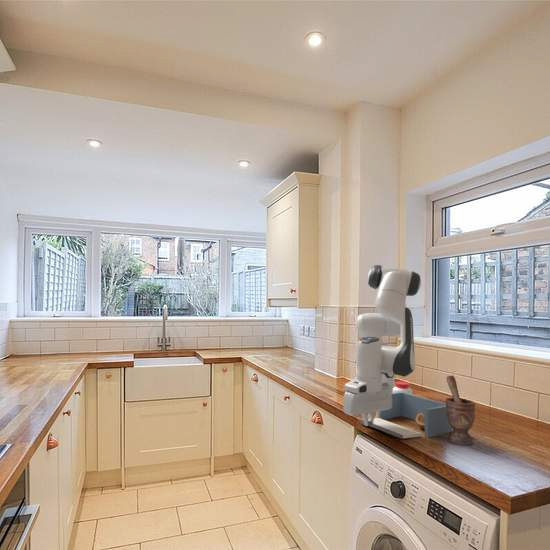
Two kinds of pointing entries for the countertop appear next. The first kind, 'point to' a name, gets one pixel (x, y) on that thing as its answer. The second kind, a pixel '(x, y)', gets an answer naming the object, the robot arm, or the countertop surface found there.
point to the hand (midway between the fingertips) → (368, 425)
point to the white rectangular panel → (393, 428)
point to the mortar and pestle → (459, 415)
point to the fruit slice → (420, 420)
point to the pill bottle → (402, 387)
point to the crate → (413, 405)
